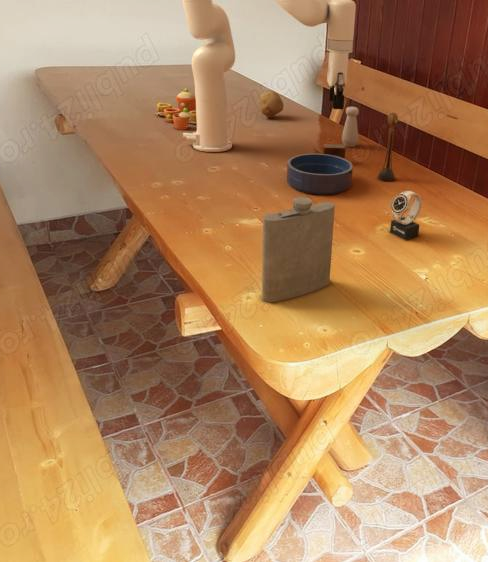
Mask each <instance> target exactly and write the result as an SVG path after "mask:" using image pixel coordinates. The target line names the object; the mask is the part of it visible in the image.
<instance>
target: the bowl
mask: <svg viewBox="0 0 488 562" xmlns="http://www.w3.org/2000/svg"><path fill="white" fill-rule="evenodd" d="M286 163H287V164H286V182H287V184H288V185H290V186H291V188H293V189H295V190H297V191H299V192H303V193H306V194H309V195H310V194H311V195H324V196H325V195H326V196H327V195H335V194H339V193H343V192H344V191H346V190H347V189H349V188H350V187H351V186H352V183H353V171H354V169H353V168H354V165H353V163H352V162H351V161H349V160H348V159H346V158H345V159H344V158H341V157H338V156H333V155H327V154H323V153H303V154H298V155H295V156H292V157H290V158H289V159H288V160H287V162H286Z"/></svg>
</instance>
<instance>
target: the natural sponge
mask: <svg viewBox="0 0 488 562" xmlns="http://www.w3.org/2000/svg"><path fill="white" fill-rule="evenodd" d="M284 106H285V105H284V102H283V100H282V98H281V95H279V94H278V93H277V92H276V91H273V90H269V91H264V92H263V93H262V94H261V95H260V97H259V108H260V113H261V114H262V115H263V116H265V117H266V118H268V119H270V118H274V117H275V116H276V115H278V114H280V113H282V112H283V110H284Z"/></svg>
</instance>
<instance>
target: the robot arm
mask: <svg viewBox="0 0 488 562" xmlns="http://www.w3.org/2000/svg"><path fill="white" fill-rule="evenodd" d="M181 2H182V7H183V11H184V16H185V20H186V21H185V22H186V25H187V29H188V31H189V33H190V35H191V37H193V38H194V39H195V40H199V41H203V43H204V44H203V45H201V46H199V47H197V48H196V50H194V52H193V54H192V56H191V72H192V76H193V82H194V95H195V98H196V119H197V124H196V131H193V132H192V133H189V132H183V133H182V139H183V140H186V141H188V142H189V141H190V142H191V141H192V147H193V149H195V150H197V151H201V152H206V153H221V152H225V151H229V150H231V149H232V148H233V143H232V141H231V140H229V139H228V112H227V109H228V108H227V104H228V103H227V87H226V82H225V76H224V73H226V72H228V71H229V70H231V69H232V68H233V66H234V65H235V63H236V50H235V45H234V40H233V39H234V38H233V34H232V30H231V24H230V19H229V16H228V15H227V13H226V11H225V10H224V8H222V7H221V6H220V5H218V4H216V3H213V0H181ZM275 2H276V3H277V4H278V5H279V6H280V7H281V8H282V9H283V10H284V11H285V12H287V13H288V14H289V15H290V16H291V17H293V18H294V19H295V20H296V21H298V23H300V24H302V25H304V26H306V27H310V28H312V27H313V28H314V27H317V26H319V25H322V24H327V39H326V40H327V42H326V51H327V52H329V54H328V63H327V64H328V65H327V67H328V68H327V75H326V81H327V84H328V86H329V97H328V98H329V101H330V102H332V109H333V110H344V107H345V88H346V87H347V81H348V72H349V71H348V70H349V54H351V53H353V49H354V38H355V37H354V36H355V22H356V9H357V8H356V7H357V6H356V2H355V1H354V0H275Z"/></svg>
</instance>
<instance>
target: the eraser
mask: <svg viewBox="0 0 488 562" xmlns="http://www.w3.org/2000/svg"><path fill="white" fill-rule="evenodd" d="M346 148H347V147H346V146H344V145H343V144H337V143H336V144H335V143H323V144H322V154H327V155H333V156H338V157H341V158H344V159H346V150H347V149H346Z"/></svg>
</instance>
